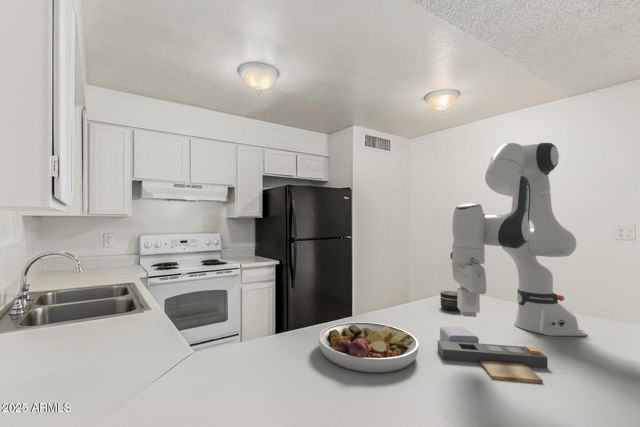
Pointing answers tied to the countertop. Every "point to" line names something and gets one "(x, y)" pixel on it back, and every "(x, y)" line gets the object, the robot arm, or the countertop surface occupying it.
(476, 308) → the charger
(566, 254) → the robot arm
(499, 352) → the power strip
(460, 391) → the countertop surface
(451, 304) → the jar
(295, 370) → the countertop surface
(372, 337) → the bowl
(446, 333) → the charger
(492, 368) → the cork mat
